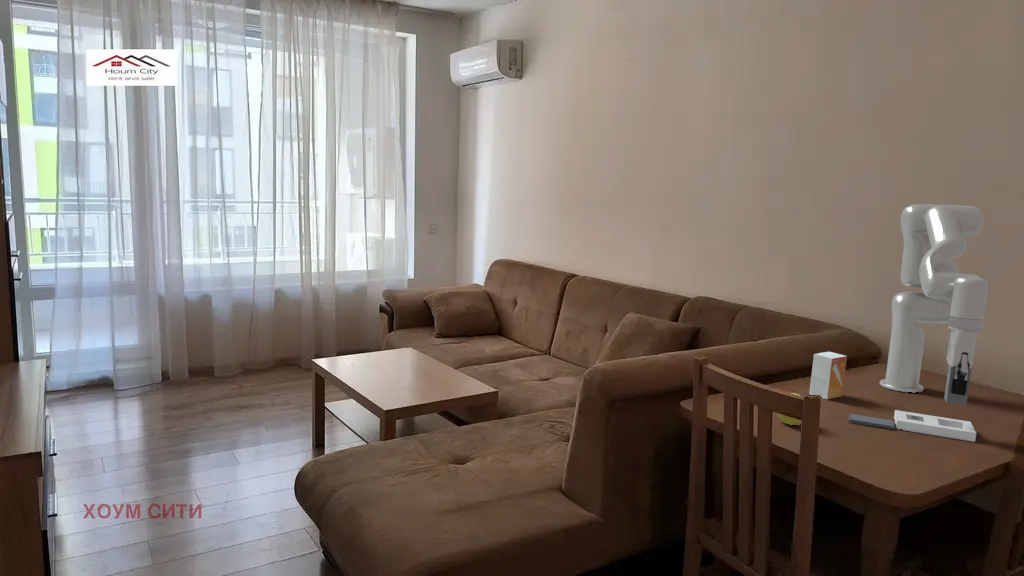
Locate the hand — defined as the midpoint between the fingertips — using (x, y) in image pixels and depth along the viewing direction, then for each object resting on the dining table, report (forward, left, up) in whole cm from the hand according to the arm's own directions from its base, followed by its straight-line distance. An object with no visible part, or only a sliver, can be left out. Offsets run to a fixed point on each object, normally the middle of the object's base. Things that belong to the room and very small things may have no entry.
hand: (956, 391), depth 185 cm
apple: (+16, -39, -12) cm, 44 cm away
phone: (+3, -19, -12) cm, 23 cm away
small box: (-18, -31, -12) cm, 38 cm away
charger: (0, 0, -3) cm, 3 cm away
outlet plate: (0, -4, -12) cm, 12 cm away
